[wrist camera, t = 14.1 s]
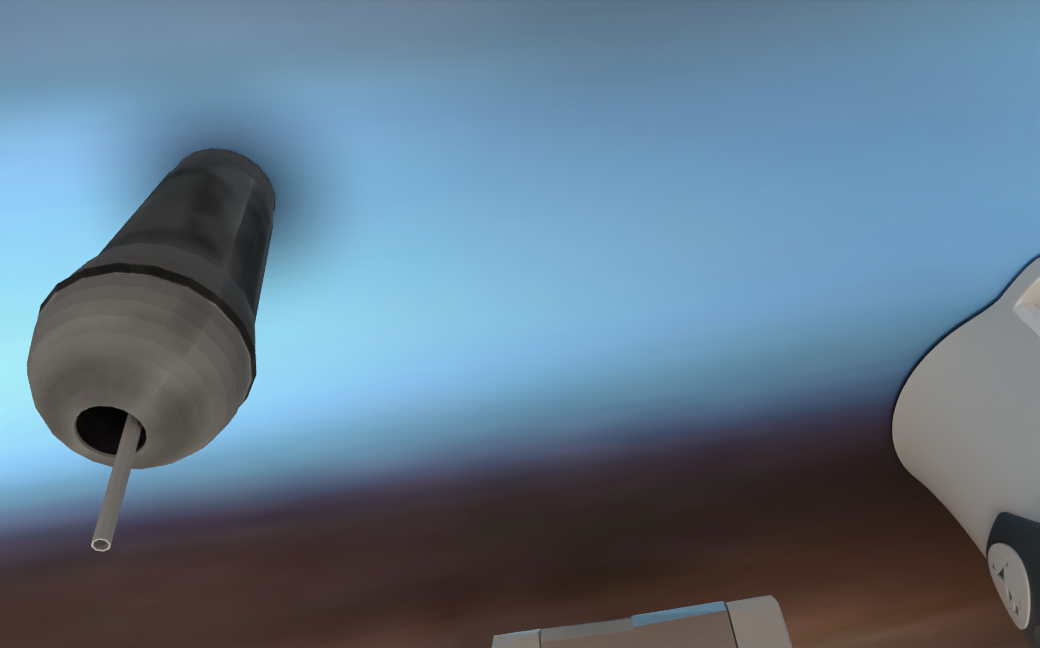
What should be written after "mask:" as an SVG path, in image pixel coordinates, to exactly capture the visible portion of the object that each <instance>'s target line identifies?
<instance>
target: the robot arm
mask: <svg viewBox="0 0 1040 648" xmlns="http://www.w3.org/2000/svg"><path fill="white" fill-rule="evenodd" d="M892 436H893V442H894V447H895V450H896V453H897V455H898V457H899V459H900V461H901V462H902V464H903V465H904V467H905V468H906V469H907V470H908V471H909V472H910V473H911V474H912V475H913V476H914V477H915V478H916V479H918V480H919V481H920V482H921V483H922V484H924V485H925V486H926V487H927V488H928V489H929V490H930V491H931V492H932V493H933V494H934V495H935V496H936V497H937V498H938V499H939V500H940V501H941V502H942V503H943V505H944V506H945V507H946V508H947V509H948V510H949V511H950V512H951V514H952V515H953V516H954V517H955V518H956V520H957V521H958V522H959V523H960V524H961V526H962V527H963V528H964V529H965V531H966V532H967V533H968V535H969V536H970V537H971V539H972V540H973V541H974V543H975V544H976V545H977V547H978V548H979V549H980V551H981V552H982V554H983V555H984V557H985V558H986V561H987V566H988V569H989V572H990V574H991V576H992V579H993V582H994V584H995V587H996V589H997V591H998V593H999V595H1000V598H1001V600H1002V602H1003V604H1004V605H1005V607H1006V609H1007V611H1008V613H1009V615H1010V616H1011V618H1012V620H1013V621H1014V623H1015V624H1016V626H1017V627H1018V628H1019V629H1020V630H1021V632H1022V634H1023V636H1024V638H1025V639H1026V641H1027V643H1028V644H1029V646H1030V648H1040V257H1039V258H1038V259H1036V260H1035V261H1034V262H1032V263H1031V264H1030V265H1029V266H1028V267H1027V268H1026V269H1025V270H1024V271H1023V272H1022V273H1021V274H1020V275H1019V276H1018V277H1017V278H1016V280H1015V281H1014V282H1013V283H1012V284H1011V285H1010V287H1009V288H1008V289H1007V290H1006V292H1005V293H1004V294H1003V295H1002V296H1001V298H1000V299H999V300H998V301H997V302H995V303H994V304H993V305H992V306H991V307H989V308H988V309H986V310H985V311H984V312H982V313H981V314H979V315H978V316H976V317H975V318H973V319H971V320H970V321H968V322H967V323H965V324H964V325H962V326H961V327H959V328H958V329H957V330H955V331H954V332H952V333H951V334H950V335H949V336H947V337H946V338H945V339H944V340H942V341H941V342H940V343H939V344H938V345H937V346H936V347H935V348H934V349H933V350H932V351H931V352H930V353H929V354H928V355H927V356H926V357H925V358H924V359H923V360H922V361H921V363H920V364H919V365H918V366H917V368H916V369H915V370H914V371H913V373H912V374H911V376H910V377H909V379H908V381H907V382H906V384H905V386H904V388H903V390H902V392H901V394H900V396H899V399H898V401H897V404H896V407H895V411H894V416H893V423H892ZM492 648H792V645H791V641H790V638H789V635H788V632H787V629H786V626H785V622H784V619H783V616H782V613H781V610H780V607H779V604H778V603H777V602H776V600H775V599H774V598H773V596H772V595H767V596H762V597H756V598H750V599H744V600H738V601H732V602H726V603H725V604H724V603H723V601H721V602H715V603H709V604H703V605H696V606H690V607H684V608H678V609H672V610H666V611H660V612H654V613H648V614H641V615H635V616H632V618H625V619H617V620H610V621H602V622H594V623H587V624H579V625H571V626H563V627H556V628H548V629H537V630H530V631H524V632H517V633H510V634H503V635H496V636H494V639H493V644H492Z"/></svg>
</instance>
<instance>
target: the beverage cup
mask: <svg viewBox="0 0 1040 648" xmlns="http://www.w3.org/2000/svg"><path fill="white" fill-rule="evenodd" d="M274 208H275V199H274V191H273V189H272V186H271V184H270V181H269V179H268V178H267V177H266V175H265V174H264V173H263V171H262V170H261V169H260V168H259V167H258V166H257V165H256V164H254V163H253V162H252V161H250V160H249V159H247V158H246V157H244V156H242V155H239V154H237V153H234V152H231V151H229V150H219V149H208V150H203V151H198V152H195V153H193V154H191V155H190V156H188V157H186V158H184V159H183V160H182V161H181V162H180V164H179V165H178V166H177V167H176V168H175V169H174V170H173V171H171V172H169V173H168V175H167V176H166V177H165V178H164V179H163V180H162V182H161V183H160V184H159V185H158V186H157V187H156V189H155V190H154V191H153V192H152V193H151V194H150V196H149V197H148V198H147V199H146V200H145V201H144V203H143V204H142V205H141V206H140V207H139V208H138V210H137V211H136V212H135V213H134V214H133V215H132V217H131V218H130V219H129V220H128V221H127V222H126V223H125V225H124V226H123V227H122V228H121V229H120V230H119V232H118V233H117V234H116V235H115V236H114V237H113V239H112V240H111V241H110V242H109V243H108V244H107V246H106V247H105V248H104V249H103V250H102V251H101V253H100V254H99V255H98V256H97V257H95V258H93V259H91V260H90V261H88V262H87V263H85V264H84V265H83V266H82V267H81V268H79V269H78V270H77V271H76V272H74V273H73V274H72V275H71V276H70V277H69V278H67V279H65V280H63V281H62V282H60V283H58V284H57V285H56V286H55V288H54V289H53V290H52V291H51V293H50V294H49V295H48V297H47V298H46V299H45V301H44V302H43V303H42V304H41V306H40V311H39V315H38V320H37V323H36V325H35V329H34V333H33V337H32V342H31V347H30V351H29V356H28V361H27V375H28V379H29V384H30V388H31V392H32V397H33V400H34V404H35V407H36V409H37V411H38V412H39V414H40V415H41V417H42V418H43V420H44V421H45V423H46V424H47V426H48V427H49V429H50V430H51V432H52V434H53V435H54V436H56V437H57V438H58V439H59V440H60V441H61V442H63V443H64V444H65V445H66V446H67V447H68V448H70V449H71V450H72V451H74V452H76V453H78V454H80V455H82V456H84V457H86V458H87V459H89V460H91V461H93V462H97V463H101V464H104V465H108V466H111V467H113V469H112V472H111V476H110V479H109V483H108V487H107V490H106V494H105V497H104V501H103V504H102V508H101V511H100V515H99V518H98V522H97V526H96V529H95V533H94V536H93V540H92V544H91V547H93V548H94V549H95V550H97V551H106V550H108V549H110V546H111V542H112V539H113V535H114V531H115V527H116V523H117V520H118V516H119V512H120V508H121V505H122V501H123V497H124V493H125V489H126V486H127V482H128V478H129V474H130V471H131V469H145V468H151V467H157V466H163V465H167V464H171V463H174V462H176V461H178V460H180V459H182V458H184V457H187V456H189V455H191V454H193V453H195V452H197V451H198V450H200V449H202V448H204V447H205V446H206V445H207V444H208V443H210V442H211V441H212V440H213V439H214V438H215V437H216V436H217V435H218V434H219V433H220V432H221V431H222V430H223V429H224V428H225V427H226V426H227V425H228V424H229V422H230V421H231V420H232V418H233V417H234V416H235V414H236V413H237V410H238V408H239V407H240V406H241V405H242V404H243V402H244V401H245V400H246V399H247V397H248V395H249V392H250V390H251V387H252V384H253V382H254V379H255V377H256V355H255V320H256V315H257V309H258V304H259V299H260V293H261V288H262V282H263V277H264V272H265V266H266V261H267V256H268V250H269V245H270V240H271V234H272V229H273V211H274Z"/></svg>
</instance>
